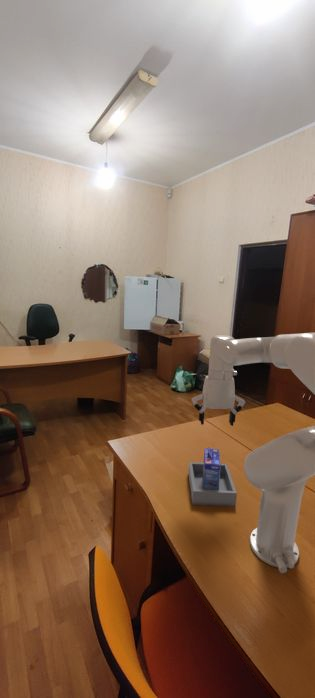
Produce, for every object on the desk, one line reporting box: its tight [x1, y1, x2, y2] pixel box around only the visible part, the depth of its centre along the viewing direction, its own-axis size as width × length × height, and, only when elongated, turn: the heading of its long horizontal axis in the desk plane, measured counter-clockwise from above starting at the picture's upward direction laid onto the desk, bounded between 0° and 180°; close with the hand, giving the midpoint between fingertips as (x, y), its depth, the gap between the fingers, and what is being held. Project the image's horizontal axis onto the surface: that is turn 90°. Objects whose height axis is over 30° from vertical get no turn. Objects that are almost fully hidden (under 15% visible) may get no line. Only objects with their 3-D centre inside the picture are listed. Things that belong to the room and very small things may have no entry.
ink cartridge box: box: [203, 446, 221, 490], centre depth 103 cm, size 10×6×14 cm, turn 172°
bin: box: [187, 461, 238, 508], centre depth 105 cm, size 16×14×5 cm
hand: (216, 423), depth 100 cm, fingers open, 9 cm apart
